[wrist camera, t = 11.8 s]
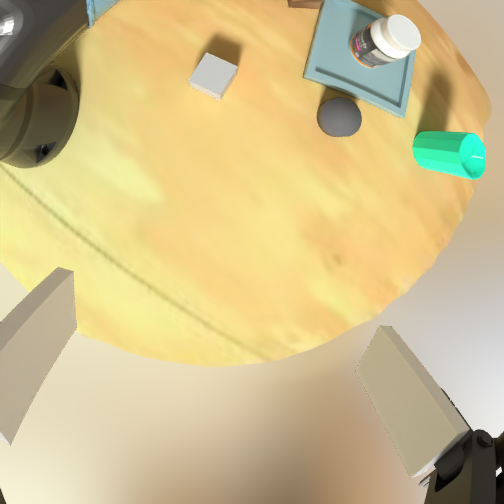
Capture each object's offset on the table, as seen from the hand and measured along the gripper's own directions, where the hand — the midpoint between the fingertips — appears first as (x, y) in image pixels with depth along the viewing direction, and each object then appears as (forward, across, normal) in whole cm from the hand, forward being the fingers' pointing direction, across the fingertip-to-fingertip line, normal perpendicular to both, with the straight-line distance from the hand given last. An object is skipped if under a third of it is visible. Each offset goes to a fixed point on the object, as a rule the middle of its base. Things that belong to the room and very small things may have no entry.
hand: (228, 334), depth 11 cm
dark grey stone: (+27, +11, +14) cm, 32 cm away
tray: (+27, +13, +26) cm, 39 cm away
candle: (+27, +27, +16) cm, 41 cm away
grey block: (+27, -5, +15) cm, 31 cm away
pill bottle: (+26, +13, +26) cm, 39 cm away
